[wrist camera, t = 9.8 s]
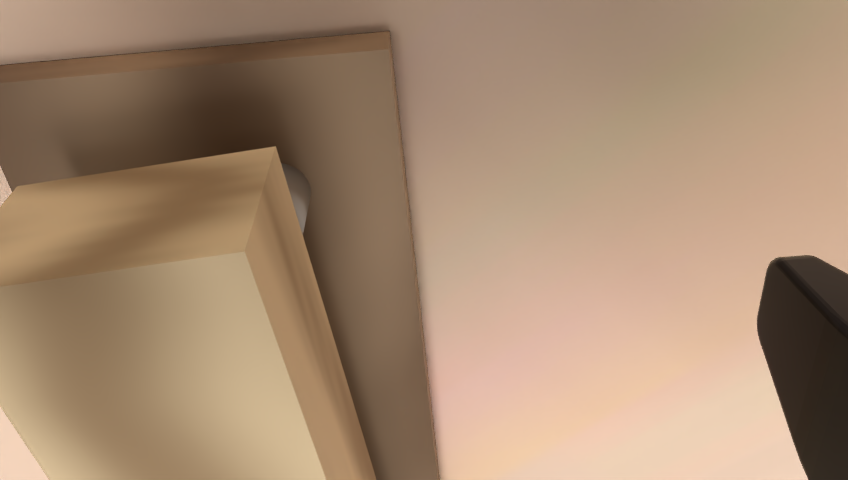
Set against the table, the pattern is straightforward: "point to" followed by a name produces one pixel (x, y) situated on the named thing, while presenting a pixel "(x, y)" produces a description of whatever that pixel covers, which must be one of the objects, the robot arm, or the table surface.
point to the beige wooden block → (171, 328)
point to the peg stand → (304, 171)
